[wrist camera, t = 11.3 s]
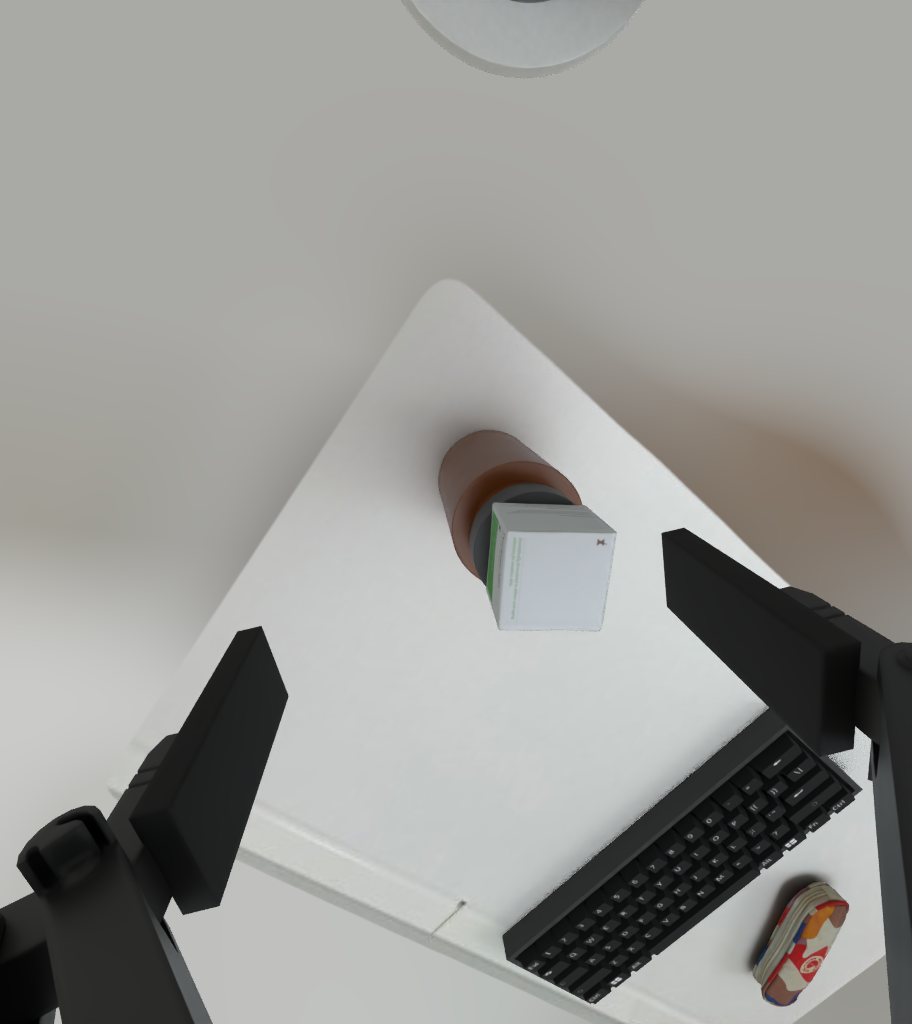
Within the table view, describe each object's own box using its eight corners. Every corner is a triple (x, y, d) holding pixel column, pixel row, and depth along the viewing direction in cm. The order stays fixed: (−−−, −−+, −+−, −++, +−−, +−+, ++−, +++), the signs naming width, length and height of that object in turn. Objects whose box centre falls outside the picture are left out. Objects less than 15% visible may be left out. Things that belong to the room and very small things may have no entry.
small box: (489, 499, 28) (506, 529, 24) (587, 502, 29) (622, 531, 24) (482, 591, 30) (497, 635, 25) (574, 591, 31) (605, 634, 26)
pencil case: (855, 884, 69) (889, 923, 64) (776, 978, 74) (802, 1021, 69) (793, 868, 66) (823, 908, 62) (716, 966, 71) (738, 1010, 66)
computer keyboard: (583, 979, 69) (593, 1014, 65) (502, 936, 65) (508, 971, 61) (843, 771, 62) (871, 797, 58) (772, 705, 57) (797, 730, 54)
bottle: (429, 441, 44) (445, 493, 28) (529, 421, 44) (601, 462, 28) (448, 534, 47) (472, 631, 31) (541, 515, 47) (613, 601, 31)
